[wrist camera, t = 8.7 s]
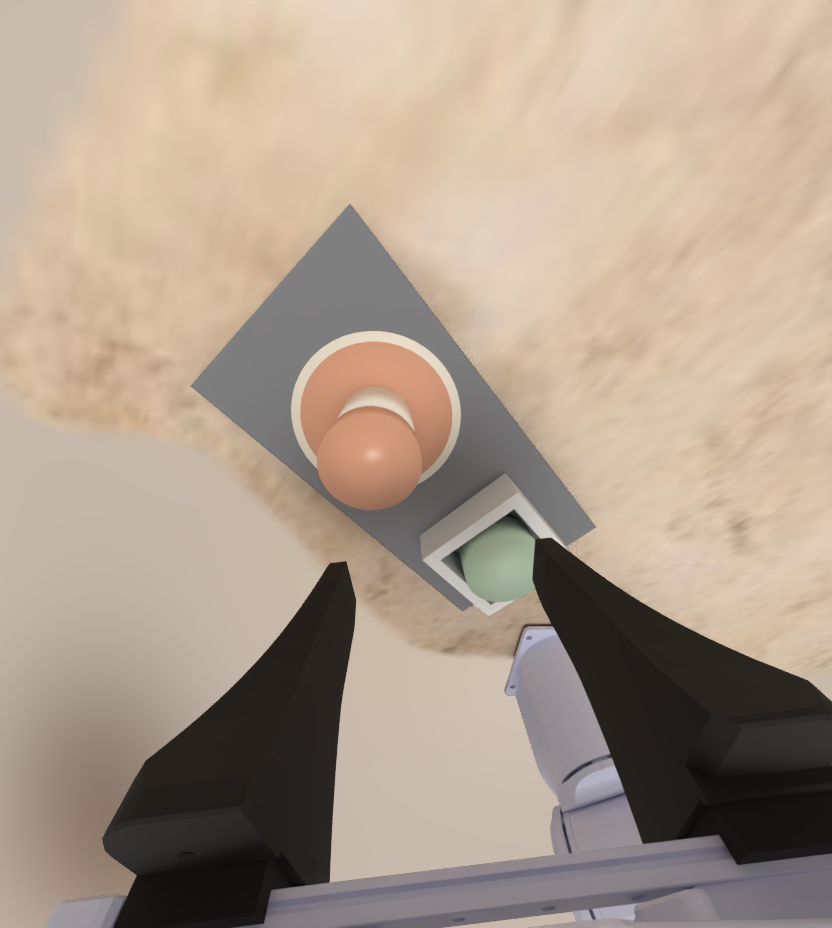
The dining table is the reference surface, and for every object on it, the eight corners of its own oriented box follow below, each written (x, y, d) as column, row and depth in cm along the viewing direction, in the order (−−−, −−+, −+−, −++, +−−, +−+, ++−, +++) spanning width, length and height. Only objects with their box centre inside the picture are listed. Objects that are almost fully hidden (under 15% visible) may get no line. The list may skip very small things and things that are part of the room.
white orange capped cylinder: (429, 423, 19) (442, 469, 13) (376, 467, 20) (368, 526, 14) (378, 366, 17) (371, 393, 12) (324, 417, 18) (294, 463, 13)
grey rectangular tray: (591, 522, 23) (617, 550, 21) (461, 604, 26) (468, 638, 24) (351, 207, 15) (341, 185, 12) (196, 383, 18) (161, 397, 15)
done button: (545, 547, 22) (562, 573, 20) (486, 585, 23) (496, 613, 21) (505, 502, 20) (518, 525, 18) (443, 545, 22) (449, 572, 19)
